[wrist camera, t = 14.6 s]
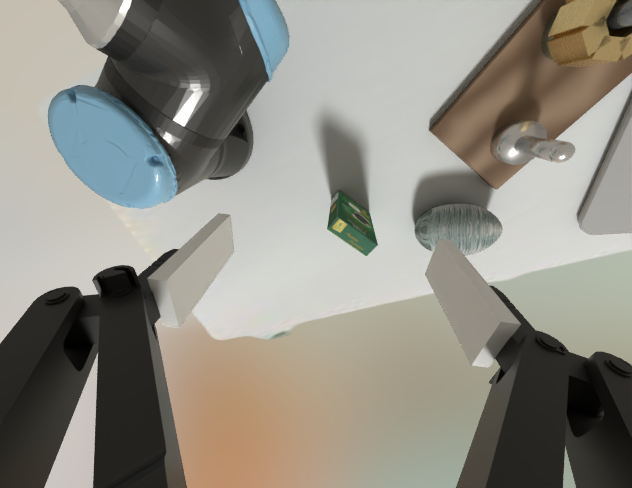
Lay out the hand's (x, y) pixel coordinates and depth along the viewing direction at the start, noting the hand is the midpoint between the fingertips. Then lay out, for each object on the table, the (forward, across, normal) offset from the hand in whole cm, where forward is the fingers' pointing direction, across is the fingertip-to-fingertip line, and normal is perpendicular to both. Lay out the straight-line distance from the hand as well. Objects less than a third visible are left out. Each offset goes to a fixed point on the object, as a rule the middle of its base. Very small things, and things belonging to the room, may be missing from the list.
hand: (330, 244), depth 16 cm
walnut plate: (+32, +28, +12) cm, 44 cm away
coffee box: (+32, +4, -9) cm, 33 cm away
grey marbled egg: (+32, +23, -10) cm, 41 cm away
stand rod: (+30, +27, +5) cm, 41 cm away
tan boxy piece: (+27, +28, +18) cm, 43 cm away
